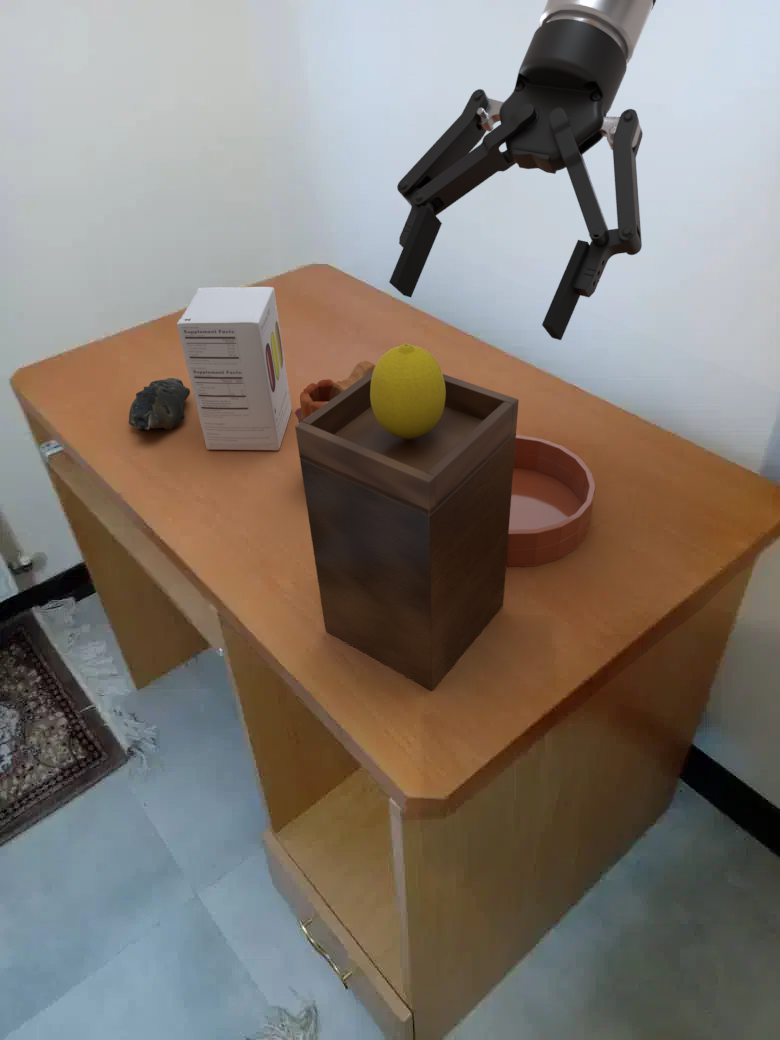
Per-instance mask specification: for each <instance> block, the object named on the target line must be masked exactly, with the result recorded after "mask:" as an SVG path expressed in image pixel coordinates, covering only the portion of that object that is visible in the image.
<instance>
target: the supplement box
mask: <svg viewBox="0 0 780 1040" xmlns="http://www.w3.org/2000/svg"><path fill="white" fill-rule="evenodd" d="M275 291H276V290H275V288H274V286H236V287H235V286H231V287H229V286H228V287H225V286H222V287H217V286H216V287H215V286H214V287H199V288H197V289H196V291H195V293H194V295H193V297H192V299H191V301H190V303H189V304H188V306H187V308H186V309H185V310H184V312H183V314H182V315H181V317H180V318H179V320H178V321H177V323H176V327H177V332H178V335H179V340H180V344H181V348H182V353H183V356H184V360H185V364H186V368H187V372H188V377H189V380H190V381H189V382H190V385H191V389H192V393H193V397H194V402H195V405H196V410H197V414H198V419H199V422H200V427H201V432H202V435H203V440H204V443H205V448H206V450H221V451H222V450H223V451H224V450H228V451H233V450H234V451H237V450H238V451H279V450H280V449H281V445H282V442H283V439H284V436H285V433H286V430H287V426H288V423H289V420H290V417H291V414H292V410H293V409H292V401H291V395H290V388H289V380H288V375H287V368H286V361H285V354H284V348H283V347H284V346H283V340H282V333H281V326H280V320H279V313H278V308H277V307H278V306H277V305H278V304H277V299H276V292H275Z"/></svg>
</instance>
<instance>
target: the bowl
mask: <svg viewBox="0 0 780 1040" xmlns="http://www.w3.org/2000/svg"><path fill="white" fill-rule="evenodd" d="M595 493H596V483H595V480H594V477H593V473H592V471H591V469H590V468H589V466H587V464H586V463H585V462H584V461H583V460H582V458H581V457H580V456H578V455H577V454H575V453H573V452H572V451H570V450H569V449H567V448H566V447H564V446H563V445H560V444H557V443H555V442H552V441H549V440H546V439H543V438H540V437H534V436H526V435H520V434H516V440H515V453H514V467H513V480H512V493H511V507H510V520H509V533H508V547H507V560H506V567H511V568H513V567H519V568H520V567H521V568H523V567H533V566H534V567H535V566H539V565H544V564H548V563H550V562H554V561H556V560H559V559H562V558H563V557H565V556H567V555H568V554H571V552H572V551H574V550H575V549H576V548H577V547H578V546H579V545H580V544H581V543H582V542H583V540H584V539H585V537H586V535H587V533H588V531H589V526H590V521H591V517H592V511H593V506H594V498H595Z"/></svg>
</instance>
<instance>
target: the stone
mask: <svg viewBox="0 0 780 1040" xmlns="http://www.w3.org/2000/svg"><path fill="white" fill-rule="evenodd" d="M190 395H191V389H190V388H189V387H186V386H185V385H184V383H183V381H182V380H181V379H179V378H175V377H168V378H166V379H158V380H154V381H151V382H150V383H149V385H148V386H144V387H143V389H142V390H140V391H138V392H136V393H135V399H134V400H133V401H132V403H131V405H130V408H129V413H128V424H129V425H130V426H132V427H134V428H135V429H137V430H138V431H144V430H146V431H149V430H153V429H165V430H166V431H168V430H170V429H173V428H175V427H177V426H178V425H179V424H180V423H181V422H182V421H183V420H184V419H185V413H184V407H185V401H186V400H187V399H188V398H189V396H190Z"/></svg>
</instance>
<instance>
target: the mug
mask: <svg viewBox="0 0 780 1040" xmlns="http://www.w3.org/2000/svg"><path fill="white" fill-rule="evenodd" d="M375 366H376V364H375V363H374V362H371V361H368V360H361V361H360V362H358V363H357V364H356V365H355V367H354V368H353V370H352V371H351V373H350V374H349V376H348V377H347V378H346V379H344V380H343V381H340V380H339V381H336V382H335V381H333V380H332V379H321V380H319V381H318V382H317V383H314V382H312V383H311V382H310V383H309V384H308V385H307V386H306V388H304V389H303V391H301V392H300V395H299V403H300V407H299V408H297V409H296V410H295V411H294V415H295V417H296V418H297V421H298V424H299V423H300V422H302V421H303V420H304V419H306V418H307V417H308V416H310V415H311V414H312V413H314V412H315V411H317V410H318V409H319V408H321V407H322V406H324V405H325V404H326V403H328V402H329V401H330V400H332V399H333V398H335V397H336V396H337V395H339V394H340V393H341V392H343V391H344V390H346V389H347V388H348V387H350V386H351V385H353V384H354V383H355V382H357V381H358V380H359V379H361V378H362V377H364V376H365V375H366V374H368V373H369V372H371V371H372V370H373V369H374V368H375Z"/></svg>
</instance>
